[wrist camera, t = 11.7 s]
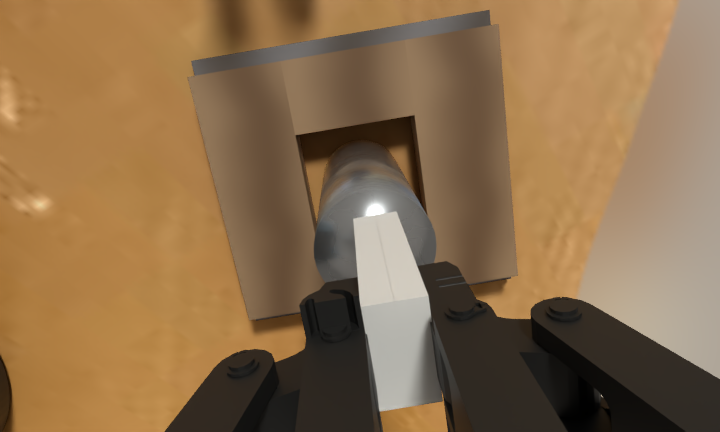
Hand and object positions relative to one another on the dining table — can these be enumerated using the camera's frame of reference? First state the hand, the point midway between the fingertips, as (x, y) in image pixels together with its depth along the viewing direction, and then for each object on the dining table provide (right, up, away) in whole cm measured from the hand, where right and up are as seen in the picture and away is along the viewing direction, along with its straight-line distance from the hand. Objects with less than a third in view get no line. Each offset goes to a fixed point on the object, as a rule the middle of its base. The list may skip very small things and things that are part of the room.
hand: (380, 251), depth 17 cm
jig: (0, +4, +12) cm, 13 cm away
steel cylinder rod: (-1, +3, +12) cm, 13 cm away
